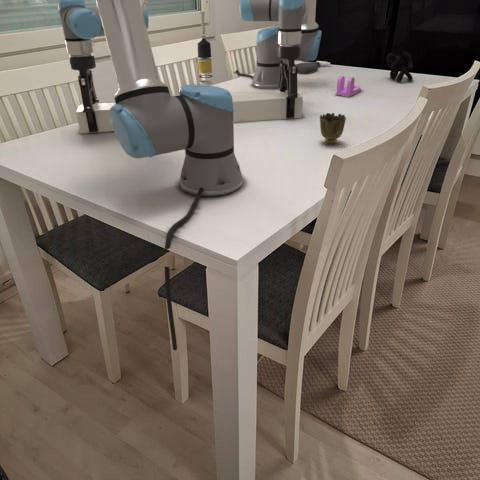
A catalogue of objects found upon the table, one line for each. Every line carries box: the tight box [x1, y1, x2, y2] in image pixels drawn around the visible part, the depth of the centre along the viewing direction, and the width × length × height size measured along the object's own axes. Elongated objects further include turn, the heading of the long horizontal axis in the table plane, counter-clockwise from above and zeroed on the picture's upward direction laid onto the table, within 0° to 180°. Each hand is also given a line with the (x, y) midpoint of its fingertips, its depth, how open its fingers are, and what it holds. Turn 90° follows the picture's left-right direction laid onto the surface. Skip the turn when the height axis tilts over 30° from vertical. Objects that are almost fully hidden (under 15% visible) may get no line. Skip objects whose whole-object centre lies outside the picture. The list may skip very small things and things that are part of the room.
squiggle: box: [385, 51, 414, 83], centre depth 198 cm, size 11×10×15 cm
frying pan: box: [295, 60, 331, 75], centre depth 223 cm, size 3×11×24 cm
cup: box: [319, 112, 347, 145], centre depth 131 cm, size 8×7×8 cm
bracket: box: [335, 75, 362, 98], centre depth 181 cm, size 13×6×7 cm, turn 143°
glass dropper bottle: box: [197, 11, 214, 86], centre depth 181 cm, size 6×6×30 cm
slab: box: [75, 91, 304, 134], centre depth 152 cm, size 75×9×7 cm, turn 100°
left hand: (95, 127), depth 149 cm, fingers closed on slab, 9 cm apart
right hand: (286, 113), depth 158 cm, fingers closed on slab, 9 cm apart
